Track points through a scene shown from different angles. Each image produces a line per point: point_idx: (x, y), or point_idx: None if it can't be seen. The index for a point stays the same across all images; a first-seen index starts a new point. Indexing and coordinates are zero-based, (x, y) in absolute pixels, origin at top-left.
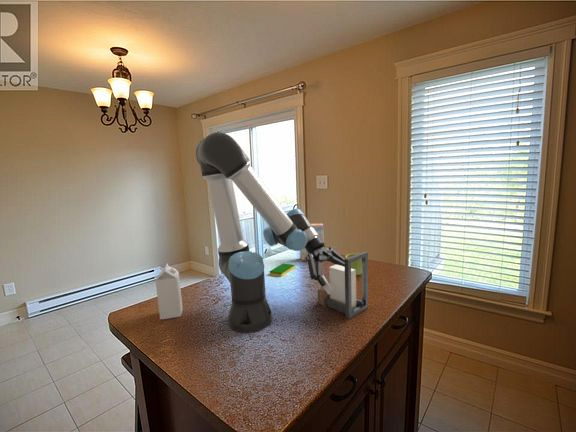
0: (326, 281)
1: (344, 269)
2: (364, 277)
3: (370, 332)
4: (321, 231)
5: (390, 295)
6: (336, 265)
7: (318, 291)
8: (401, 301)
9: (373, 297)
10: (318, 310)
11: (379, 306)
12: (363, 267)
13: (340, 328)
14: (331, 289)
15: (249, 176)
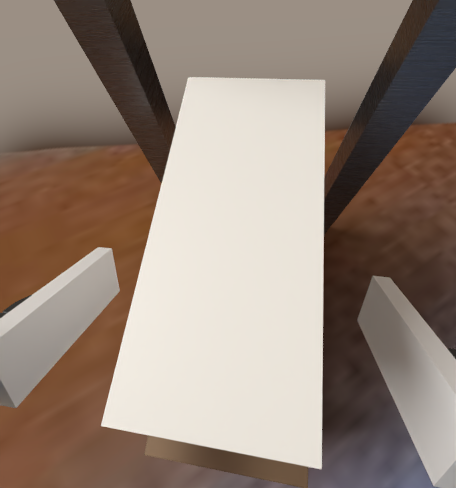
0: (436, 344)
1: (261, 170)
2: (164, 107)
3: (342, 137)
4: None
5: (49, 194)
6: (157, 378)
7: (304, 469)
8: (86, 149)
9: (93, 236)
10: (354, 380)
11: (160, 186)
12: (123, 19)
13: (399, 215)
14: (392, 285)
15: None
